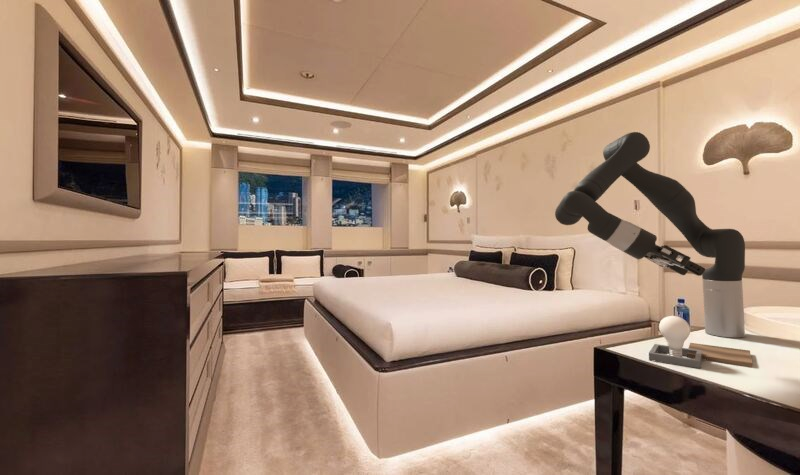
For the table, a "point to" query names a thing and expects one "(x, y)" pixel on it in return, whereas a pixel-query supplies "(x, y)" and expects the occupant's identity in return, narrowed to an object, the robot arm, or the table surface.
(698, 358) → the tray
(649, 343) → the table surface
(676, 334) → the lightbulb
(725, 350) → the coaster
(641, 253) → the robot arm
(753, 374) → the table surface
